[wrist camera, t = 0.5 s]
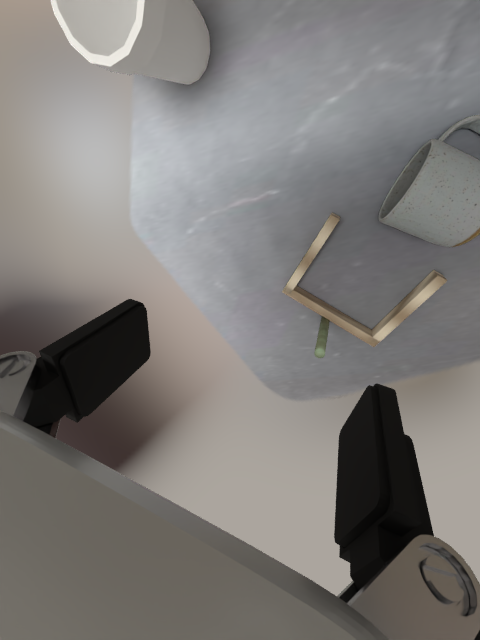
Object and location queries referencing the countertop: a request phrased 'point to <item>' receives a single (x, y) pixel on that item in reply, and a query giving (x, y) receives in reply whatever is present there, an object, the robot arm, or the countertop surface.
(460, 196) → the ceramic mug
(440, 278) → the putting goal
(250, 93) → the countertop surface
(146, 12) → the foam cup
